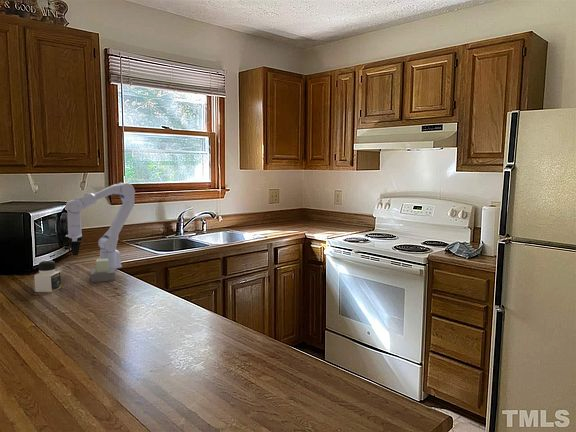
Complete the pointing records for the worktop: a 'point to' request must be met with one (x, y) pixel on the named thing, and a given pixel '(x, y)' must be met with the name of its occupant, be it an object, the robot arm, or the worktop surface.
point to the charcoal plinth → (102, 275)
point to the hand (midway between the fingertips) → (75, 253)
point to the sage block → (102, 265)
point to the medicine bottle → (47, 277)
